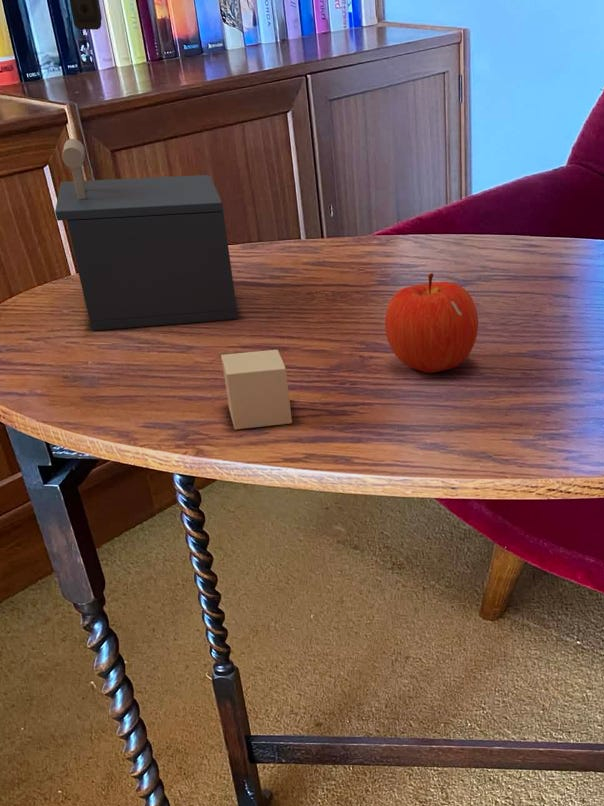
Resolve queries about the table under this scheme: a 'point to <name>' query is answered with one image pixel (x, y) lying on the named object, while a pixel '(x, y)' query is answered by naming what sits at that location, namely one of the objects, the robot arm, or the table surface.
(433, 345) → the apple
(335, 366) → the table surface
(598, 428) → the table surface
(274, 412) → the block
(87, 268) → the chest
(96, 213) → the lid
